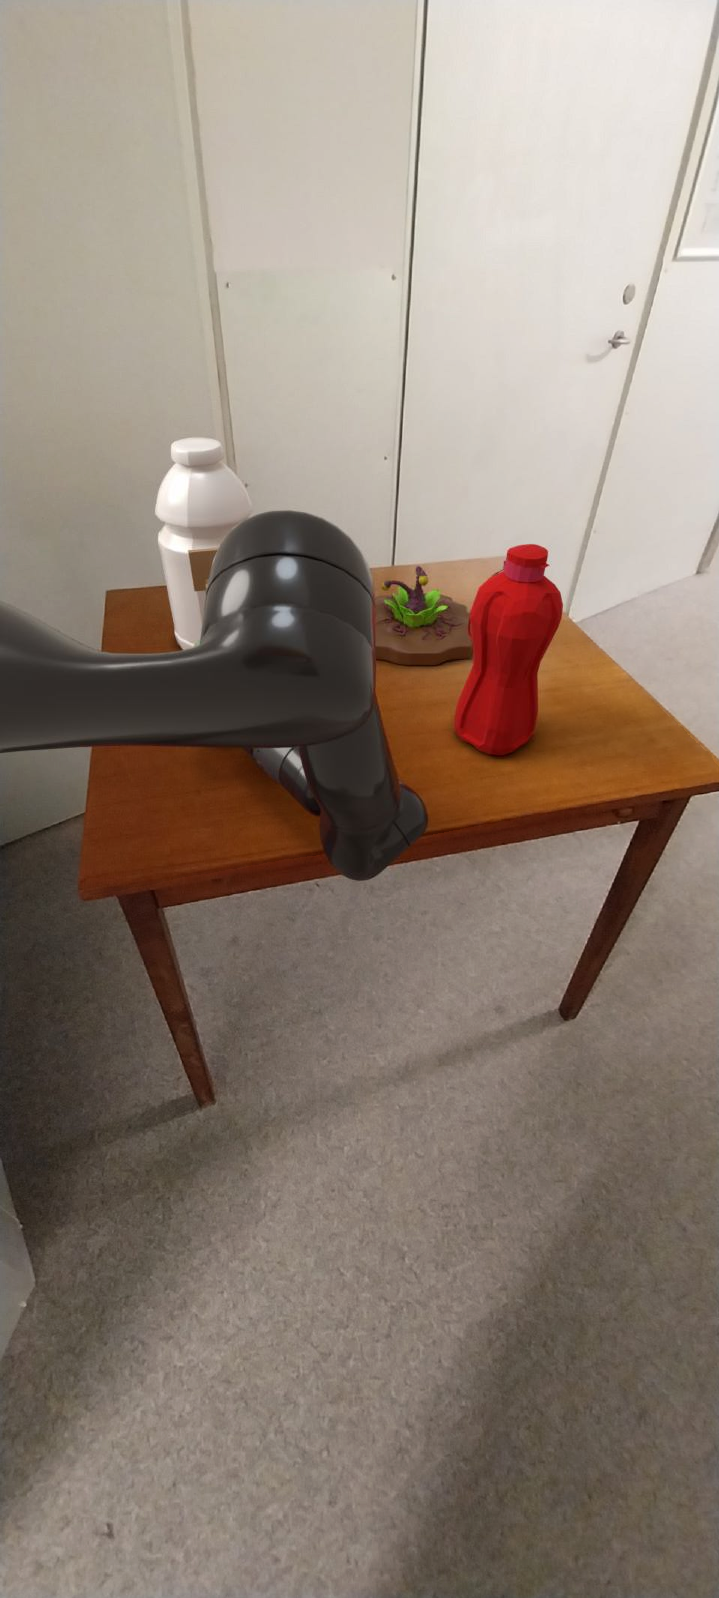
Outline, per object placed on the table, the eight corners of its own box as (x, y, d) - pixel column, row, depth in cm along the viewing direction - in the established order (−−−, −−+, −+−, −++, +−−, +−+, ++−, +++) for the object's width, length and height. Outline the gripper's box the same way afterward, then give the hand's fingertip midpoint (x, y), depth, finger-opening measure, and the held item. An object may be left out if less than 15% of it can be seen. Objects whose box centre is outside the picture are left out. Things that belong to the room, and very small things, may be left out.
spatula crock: (209, 745, 84) (178, 563, 68) (204, 718, 88) (174, 541, 72) (256, 738, 85) (237, 558, 69) (249, 712, 90) (229, 536, 74)
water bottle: (477, 701, 94) (508, 520, 77) (541, 737, 88) (590, 550, 71) (433, 726, 89) (455, 540, 72) (497, 766, 83) (537, 574, 66)
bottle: (251, 665, 99) (231, 463, 80) (163, 656, 101) (122, 455, 81) (275, 620, 109) (262, 432, 90) (194, 612, 111) (164, 425, 92)
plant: (359, 669, 99) (361, 599, 91) (345, 608, 113) (345, 542, 105) (490, 663, 101) (502, 593, 93) (459, 603, 115) (468, 539, 108)
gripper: (337, 694, 75) (261, 633, 84) (223, 739, 68) (155, 668, 78) (338, 747, 80) (266, 684, 90) (231, 793, 73) (166, 720, 83)
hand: (215, 676), depth 84 cm, fingers closed on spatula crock, 6 cm apart
